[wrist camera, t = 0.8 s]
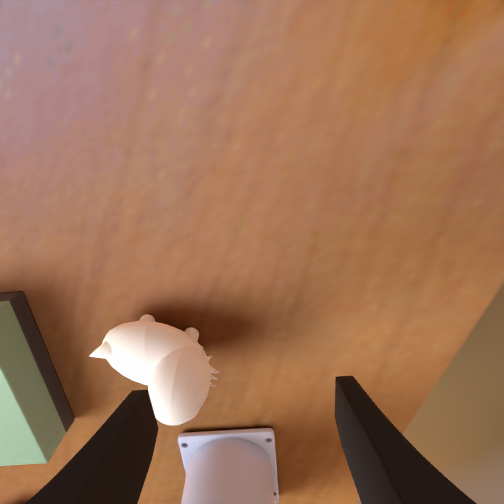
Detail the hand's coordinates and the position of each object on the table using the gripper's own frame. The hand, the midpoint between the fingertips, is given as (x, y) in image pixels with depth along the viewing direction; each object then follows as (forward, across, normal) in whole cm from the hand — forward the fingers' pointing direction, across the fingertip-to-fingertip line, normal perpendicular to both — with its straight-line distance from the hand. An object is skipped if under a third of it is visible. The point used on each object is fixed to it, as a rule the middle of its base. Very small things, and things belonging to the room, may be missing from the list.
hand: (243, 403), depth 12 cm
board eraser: (+10, +17, +5) cm, 20 cm away
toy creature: (+10, +6, +4) cm, 12 cm away
